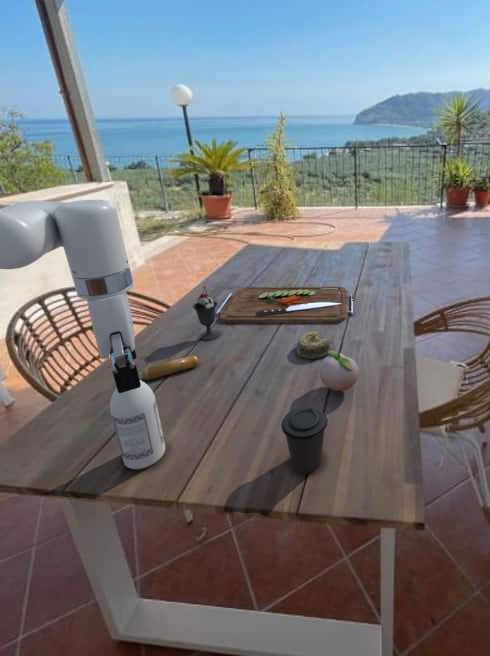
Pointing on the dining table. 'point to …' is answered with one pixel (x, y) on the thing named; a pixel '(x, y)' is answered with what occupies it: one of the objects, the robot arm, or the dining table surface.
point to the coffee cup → (305, 437)
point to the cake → (313, 346)
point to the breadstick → (169, 367)
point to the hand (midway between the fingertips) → (128, 374)
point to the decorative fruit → (338, 371)
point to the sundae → (206, 314)
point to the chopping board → (286, 305)
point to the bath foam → (137, 426)
